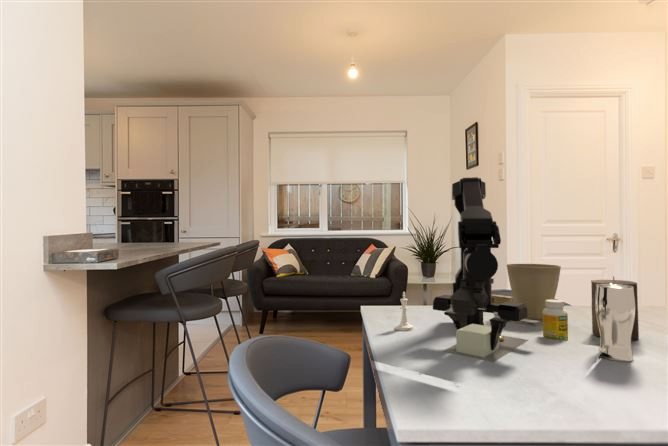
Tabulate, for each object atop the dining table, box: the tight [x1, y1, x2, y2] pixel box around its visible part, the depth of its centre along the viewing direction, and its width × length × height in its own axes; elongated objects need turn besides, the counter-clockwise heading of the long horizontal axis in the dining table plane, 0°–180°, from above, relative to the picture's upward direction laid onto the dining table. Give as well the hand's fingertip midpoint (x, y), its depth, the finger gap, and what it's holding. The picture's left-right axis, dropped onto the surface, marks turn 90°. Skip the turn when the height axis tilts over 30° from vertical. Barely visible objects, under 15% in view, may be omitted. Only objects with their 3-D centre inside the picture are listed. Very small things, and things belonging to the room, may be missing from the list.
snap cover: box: [455, 324, 499, 357], centre depth 88 cm, size 6×8×4 cm
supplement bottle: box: [542, 299, 569, 342], centre depth 99 cm, size 5×5×10 cm
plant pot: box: [506, 263, 561, 321], centre depth 125 cm, size 15×15×16 cm
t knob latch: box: [492, 294, 540, 341], centre depth 94 cm, size 3×12×10 cm, turn 42°
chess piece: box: [394, 291, 414, 332], centre depth 112 cm, size 5×5×10 cm
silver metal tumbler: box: [595, 284, 635, 363], centre depth 86 cm, size 7×7×15 cm
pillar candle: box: [590, 276, 640, 342], centre depth 103 cm, size 10×10×15 cm
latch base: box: [442, 334, 529, 363], centre depth 91 cm, size 11×21×1 cm, turn 137°
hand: (478, 347), depth 88 cm, fingers closed on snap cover, 6 cm apart
